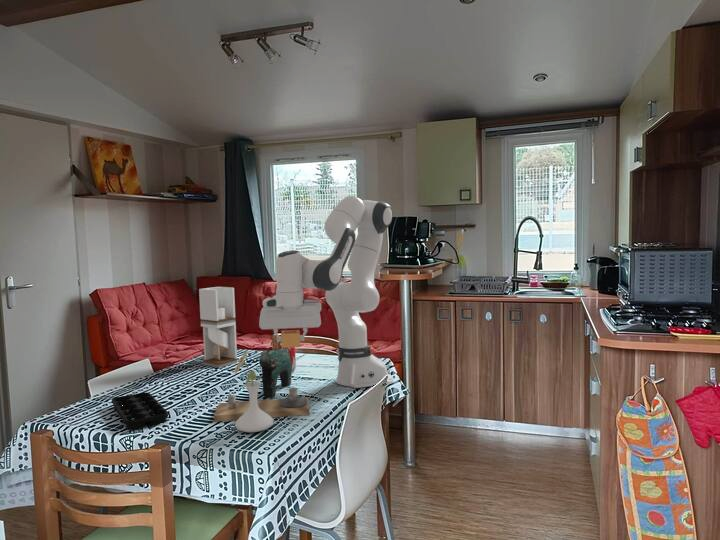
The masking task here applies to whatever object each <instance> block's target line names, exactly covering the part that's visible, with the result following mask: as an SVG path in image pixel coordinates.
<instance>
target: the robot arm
mask: <svg viewBox="0 0 720 540" xmlns="http://www.w3.org/2000/svg"><path fill="white" fill-rule="evenodd" d="M393 214H394V213H393V209H392V206H391V205H390V204H388V203H387V202H384V201H376V200H370V199H364V200H363V199H361V198H360V197H357V196H354V195H347V196H345V197H344V198H342V199H341V201H340V202H339V203H337V204H336V206H335V207H334V208H333V209H332V211H331V212H330V213H329V215H328V216H327V218H326V219H325V222H324V232H325V235H326V237H328V239H330V240H331V242H333V243H334V244H335V245H334V247H333V249H332V251H331V254H330V255H329V257H327V258H325V259H321V260H320V259H317V260H316V259H309V258H307V257H305V256H303V255H302V254H301V251H299V250H286V251H282V252H280V253H279V254H278V255H277V256H276V259H275V281H276V289H275V295H272V296H270V297H267V298H265V299H263V301H262V306H263V307H262V308H261V310H260V315H259V320H258V321H259V325H258V328H260V329H261V330H273V334H274V335H275V337H276V341H277V342H276V343H282V340H281V335H279V334H278V332H279V330H281V329H282V330H283V329H285V330H287V329H302V331H303V333H302V334H300V342H305V337H306V334H307V333H308V329H310V328H320V327H321V325H322V319H321V313H320V312H321V311H322V302H321V301H320V300H317V299H316V298H315V299H314V298H313V299H307V298H306V299H304V288H305V289H316V290H322V291H325V295H324V296H325V301H326V303H327V305H329V307H330V308H331V310H332V311H333V314H334V318H335V321H336V324H337V330H338V331H337V332H338V347H337V360H338V368H337V369H338V370H337V375H336V376H337V377H336V378H335V379H336V380H335V383H336V384H338V385H340V386H345V387H350V388H353V389H354V388H355V389H360V388H366V387H367V388H368V387H374V386H373V385H375V384H376V383H377V382H378V381H379V380H380V379H381V378H383V377H384V376H385V375H387V376H388V379H387V383H386V384H385V385H390V384H393V383H394V376H393V375H391V373H388V369H387V366H386V364H385V363H384V362H383V361H382V360H381V359H379V358H378V357H377V356H375V355H374V353H376V352H375V351H376V350H375V348H374V347H373V346H371V345H370V344H368V333H367V332H368V331H367V330H368V329H367V325H366V323H365V322H364V321H363V320H362V318H361V315H360V314H359V313H369V312H372V311H375V310H376V309H377V307H378V306H379V304H380V293H379V290H378V289H377V287H376V285H375V274H376V273H375V272H376V267H377V264H378V260H379V257H380V254H381V251H382V250H381V249H382V244H383V239H384V233H385V231H386V230H387V228H389V226H390V225H391V224H392V221H393V218H394V217H393ZM357 229H359V230H358V233H357V236H356V233H355V231H356V230H357ZM346 263H347V269H348V270H349V271H350V274H351V275H350V276H351V279H350V282H344V281H341V280H342V277H343V273H344V268H345V266H346Z"/></svg>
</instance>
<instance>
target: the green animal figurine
mask: <svg viewBox="0 0 720 540" xmlns="http://www.w3.org/2000/svg"><path fill="white" fill-rule="evenodd" d="M274 342H275V343H278V342H277V339H272V341H271V342H270V348H268V349H267V350H262V351H261V352H260V355H259V365H260V368H261V381H262V382H261V383H262V394H263V399H273V398H275V397H276V393H277V391H276V389H277V382H278V378H279V380H280V384H281V385H280V386H281V387H286V386H287V387H289V386H291V384H292V375H293V374H292V373H293V372H292V362H291V358H290V355H289V353H288V351H287V350H286V348H285V350H284V349H279V348H280V347H282V345H281V346H280V345H279V346H278V347H277V348H274V349H273V343H274ZM270 349H271V350H270Z"/></svg>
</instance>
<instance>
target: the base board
mask: <svg viewBox="0 0 720 540" xmlns="http://www.w3.org/2000/svg"><path fill="white" fill-rule="evenodd" d="M257 403H258V407H259V408H260V409H261V410H262V411H264V412H265V413H267V414H268V415H270V416H271V417H272V418H280V417H281V418H282V417H283V416H284V417H295V416H308V415H310V404H309V403H310V402H309V397H308V396H306V397H305V396H304V397H303V396H298V388H296V387H291V388H289V389H288V397H284V398H274V399H273V398H272V399H262V400H261V399H260V400H257ZM249 407H250V400H246V401H237V397H236V395H235V394H231V395H227V402H219V403H218V404H217V407H216V410H215V412H214V414H213V421H214V422H215V421H217V422H228V421H229V422H230V421H237V420H238V419H239V418H240V417H241V416H242V415H243V414H244V413H245V412H246V411H247V410H248V409H249Z"/></svg>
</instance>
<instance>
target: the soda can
mask: <svg viewBox="0 0 720 540" xmlns="http://www.w3.org/2000/svg"><path fill="white" fill-rule="evenodd" d="M281 345H282V342H280V343H279V346H281ZM279 349H284V350H285V348H282V347H280V348H279ZM286 350H287V351H288V353H289V355H290V358H291V362H292V373H293V372H294V371H295V370H296V367H297V364H296V359H297V357H296V347H289V348H286Z"/></svg>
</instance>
